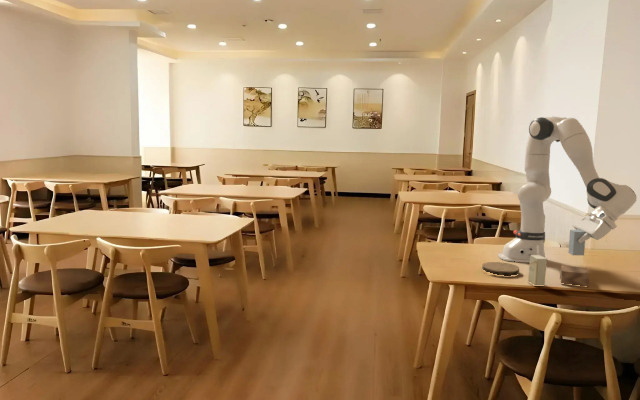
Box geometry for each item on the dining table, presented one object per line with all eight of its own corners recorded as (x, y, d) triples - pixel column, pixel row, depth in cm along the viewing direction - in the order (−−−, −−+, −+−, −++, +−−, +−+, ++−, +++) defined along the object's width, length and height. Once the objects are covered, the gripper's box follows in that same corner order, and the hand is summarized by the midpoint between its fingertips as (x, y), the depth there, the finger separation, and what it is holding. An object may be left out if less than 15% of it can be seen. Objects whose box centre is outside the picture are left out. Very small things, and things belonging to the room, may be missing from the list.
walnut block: (561, 284, 211) (562, 271, 210) (559, 278, 220) (560, 265, 220) (587, 287, 207) (589, 273, 207) (585, 281, 217) (586, 267, 216)
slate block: (572, 255, 210) (574, 231, 209) (568, 252, 214) (570, 229, 213) (584, 255, 210) (585, 231, 208) (579, 252, 214) (581, 229, 213)
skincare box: (527, 282, 213) (529, 254, 212) (537, 282, 214) (539, 254, 212) (535, 287, 207) (536, 258, 205) (545, 287, 207) (547, 258, 206)
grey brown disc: (516, 279, 218) (516, 273, 218) (478, 274, 226) (479, 268, 225) (521, 271, 232) (521, 264, 232) (485, 266, 240) (486, 260, 239)
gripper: (585, 208, 219) (560, 230, 221) (608, 216, 199) (580, 240, 201) (595, 219, 220) (570, 240, 222) (618, 227, 199) (591, 251, 201)
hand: (575, 240), depth 211 cm, fingers closed on slate block, 4 cm apart
